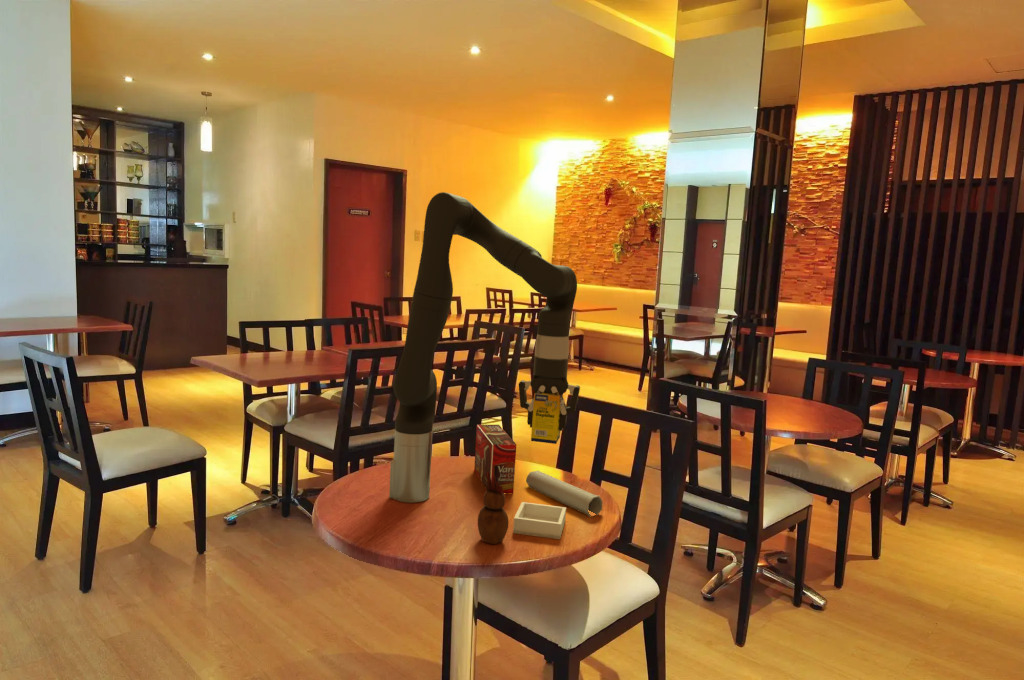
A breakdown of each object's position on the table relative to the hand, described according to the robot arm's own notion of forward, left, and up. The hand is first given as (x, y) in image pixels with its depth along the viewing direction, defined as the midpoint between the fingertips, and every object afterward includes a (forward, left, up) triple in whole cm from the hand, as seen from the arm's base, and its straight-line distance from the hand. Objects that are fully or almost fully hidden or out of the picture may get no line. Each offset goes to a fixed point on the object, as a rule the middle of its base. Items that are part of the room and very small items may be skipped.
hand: (546, 428), depth 157 cm
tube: (+2, +20, -24) cm, 31 cm away
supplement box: (0, 0, -3) cm, 3 cm away
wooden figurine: (-9, -11, -24) cm, 28 cm away
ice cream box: (-17, +27, -24) cm, 40 cm away
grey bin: (0, 0, -23) cm, 23 cm away
